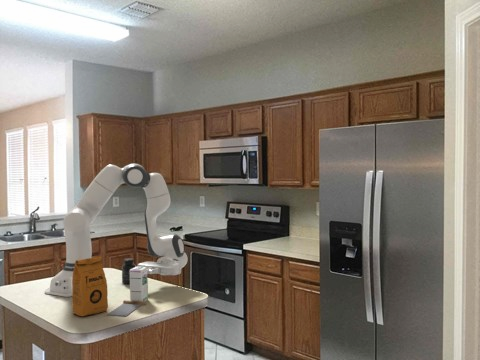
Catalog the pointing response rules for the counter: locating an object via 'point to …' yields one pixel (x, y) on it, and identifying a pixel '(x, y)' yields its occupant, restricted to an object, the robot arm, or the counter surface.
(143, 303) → the brown block
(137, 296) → the syrup box
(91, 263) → the coffee package
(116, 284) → the counter surface
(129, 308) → the mat
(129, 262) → the supplement bottle
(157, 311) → the counter surface
